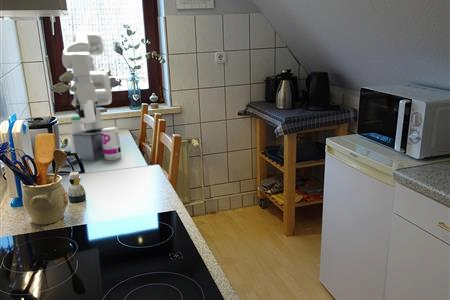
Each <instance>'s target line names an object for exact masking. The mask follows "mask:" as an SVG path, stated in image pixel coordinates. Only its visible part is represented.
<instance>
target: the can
mask: <svg viewBox="0 0 450 300" xmlns="http://www.w3.org/2000/svg"><path fill="white" fill-rule="evenodd" d="M82 110H84V116H85V117H84V118H81V123H82V125H83V124H84V125H85V124H89V123H94V122H95V121H96V120H95V113H94V106H93V102H92V101H91V100H88V101H87V103H86V104H83V108H82Z"/></svg>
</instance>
